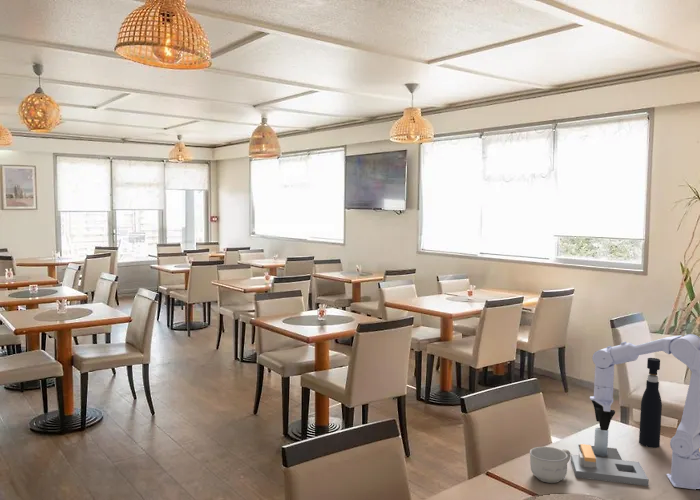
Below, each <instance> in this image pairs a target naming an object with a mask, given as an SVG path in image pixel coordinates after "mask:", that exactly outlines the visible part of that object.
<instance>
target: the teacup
mask: <svg viewBox="0 0 700 500" xmlns="http://www.w3.org/2000/svg"><path fill="white" fill-rule="evenodd" d="M529 458H530V459H529V461H530V470H531V473H532V474H533V476H535V477H536V478H537V480H539V481H541V482H543V483H550V484H551V483H554V484H555V483H558V482H560V481H562V480H563V479H564V478H565V477H566V476H567V473H568V463H569V462H570V461H571V451H569V449H566V448H564V449H560V448H556V447H554V446H553V447H552V446H537V447H533V448H530V450H529Z"/></svg>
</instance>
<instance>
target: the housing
mask: <svg viewBox="0 0 700 500" xmlns="http://www.w3.org/2000/svg"><path fill="white" fill-rule="evenodd" d="M570 454H571V453H570ZM594 455H595V454H594ZM595 458H596V462H589V461H585V460H584V457H583V454H582V453H581V452H578V454H571V457H570V461H571V462H570V463H571V465H572V468H573V471H574V476H575V478H579V479H588V480H595V481H602V482H603V481H604V482H612V483H619V484H628V485H636V486H637V485H638V486H643V487H648V486H649V480H650V479H649V478H648V476H647V474H646V472H645V470H644V469H643V466H642V465H641V463H640V461H636V460H635V461H634V460H626V459H622V460H618V459H609V458H600V457H596V456H595Z"/></svg>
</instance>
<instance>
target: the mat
mask: <svg viewBox="0 0 700 500" xmlns="http://www.w3.org/2000/svg"><path fill="white" fill-rule="evenodd" d="M580 444H581V443H580ZM580 444H578V447H579V452H580V453H582V451H581V448H580ZM591 448H592V450H593V453H594V445H591ZM595 456H596V457H600V458H609V459H618V460H623V458H622V457H621V454H620V453H619V450H618V449H617V448H616V447H608V448H607V456H598V455H596V454H595Z"/></svg>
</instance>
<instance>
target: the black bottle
mask: <svg viewBox="0 0 700 500" xmlns="http://www.w3.org/2000/svg"><path fill="white" fill-rule="evenodd" d="M646 365H647V366H646V369H647V370H648V375H647V377H646V378H647V380H646V383H645V390H644V391H643V394H642V396H641V400H640V415H639V431H638V432H639V435H638V443H639V444H640V445H641V446H643V447H645V448H648V449H649V448H650V449H658V448H659V447H660V445H661V427H662V411H663V409H662V408H663V403H662V397H661V394H660V391H659V387H660V386H659V385H660V383H659V376H658V371H659V370H661V369H660V368H661V359H659V358H656V357H648V358H647V364H646Z"/></svg>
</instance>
